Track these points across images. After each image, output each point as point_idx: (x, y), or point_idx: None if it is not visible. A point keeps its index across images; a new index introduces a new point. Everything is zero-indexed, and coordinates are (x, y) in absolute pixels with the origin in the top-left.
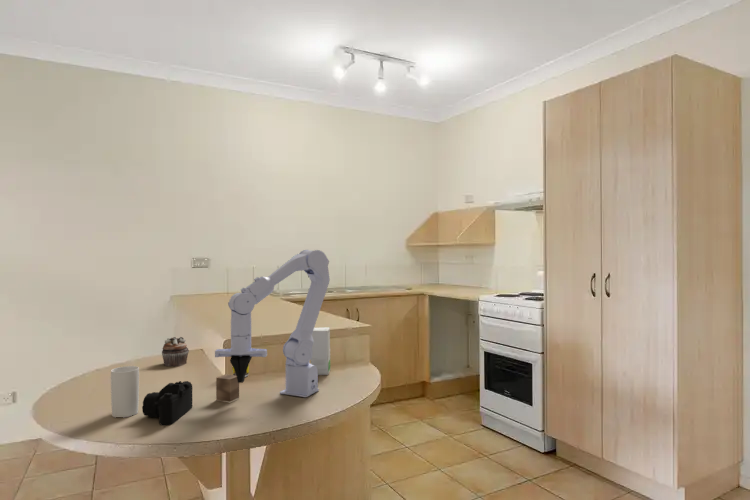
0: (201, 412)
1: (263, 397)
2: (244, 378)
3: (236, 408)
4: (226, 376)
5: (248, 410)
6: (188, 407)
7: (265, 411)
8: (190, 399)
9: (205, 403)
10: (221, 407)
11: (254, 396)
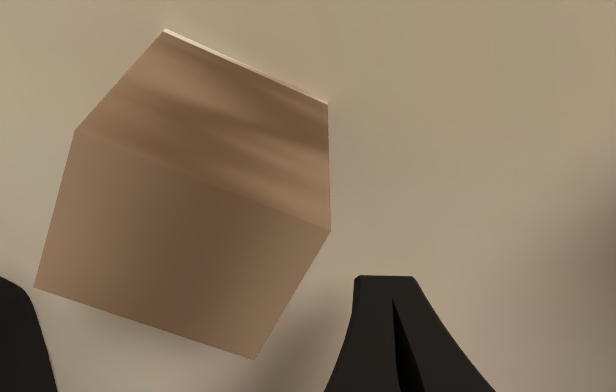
0: (145, 366)
1: (570, 76)
2: (422, 298)
3: None
4: (152, 251)
5: None
6: (37, 372)
7: (570, 368)
8: (6, 384)
9: None
10: None
11: (475, 40)
